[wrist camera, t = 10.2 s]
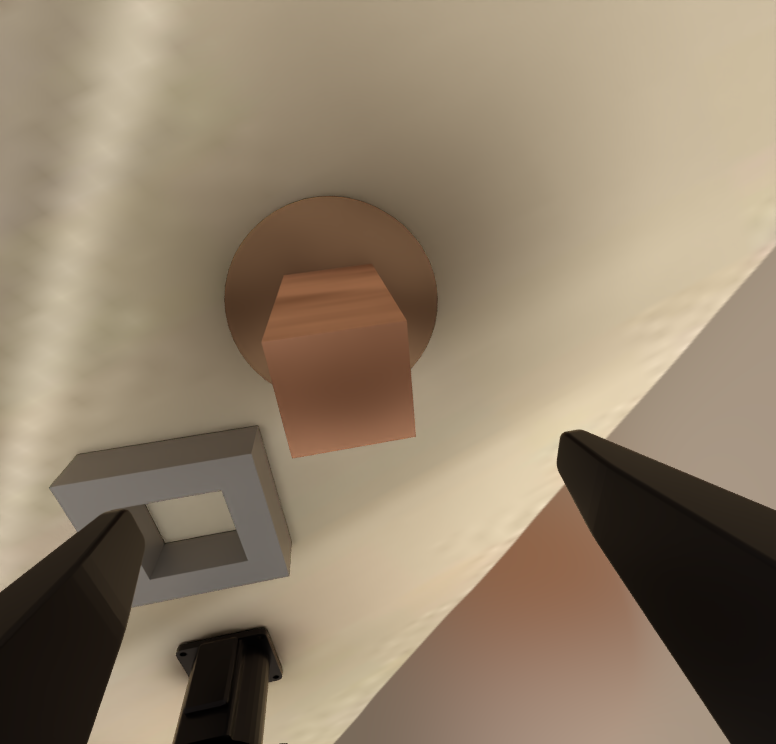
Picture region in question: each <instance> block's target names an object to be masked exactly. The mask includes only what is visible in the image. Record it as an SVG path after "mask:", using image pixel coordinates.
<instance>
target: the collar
mask: <svg viewBox="0 0 776 744" xmlns="http://www.w3.org/2000/svg"><path fill="white" fill-rule="evenodd" d="M49 489H50V490H51V492H52V493H53V495H54V496H55V498H56V499H57V501H58V503H59V504H60V506H61V507H62V509H63V510H64V512H65V513H66V515H67V517H68V518H69V520H70V521H71V523H72V524H73V526H74V527H75V529H76V531H77V532H78V531H80V530H81V529H82V528H84V527H85V526H86V525H87V524H89V523H90V522H91V521H93V520H94V519H95V518H96V517H98V516H99V515H100V514H102V513H104V512H108V511H113V510H119V509H127V510H129V511H130V512H131V514H132V515H133V517H134V519H135V521H136V523H137V525H138V526H139V528H140V530H141V532H142V534H143V536H144V539H145V551H144V555H143V559H142V564H141V568H140V572H139V577H138V581H137V585H136V589H135V594H134V598H133V602H132V607H137V606H142V605H147V604H152V603H157V602H162V601H167V600H172V599H177V598H182V597H187V596H192V595H197V594H202V593H207V592H212V591H217V590H222V589H227V588H232V587H237V586H242V585H247V584H252V583H257V582H262V581H267V580H272V579H277V578H282V577H287V576H289V575H290V561H291V547H292V541H291V538H290V535H289V531H288V528H287V524H286V521H285V517H284V514H283V510H282V507H281V503H280V500H279V497H278V493H277V490H276V486H275V483H274V479H273V476H272V472H271V469H270V466H269V462H268V459H267V455H266V452H265V448H264V445H263V441H262V438H261V434H260V431H259V428H258V426H253V427H247V428H240V429H234V430H228V431H222V432H215V433H209V434H203V435H197V436H190V437H184V438H178V439H172V440H166V441H159V442H153V443H147V444H141V445H134V446H128V447H122V448H116V449H109V450H103V451H97V452H91V453H84V454H78V455H76V456H75V458H74V459H73V460H72V461H71V462H70V463H69V465H68V466H67V467H66V468H65V469H64V470H63V472H62V473H61V474H60V475H59V476H58V477H57V479H56V480H55V481H54V482H53V483H52V484H51V486H50V487H49ZM216 491H222V493H223V496H224V498H225V501H226V504H227V506H228V509H229V512H230V514H231V517H232V520H233V522H234V525H235V528H236V531H230V532H225V533H220V534H214V535H209V536H203V537H198V538H193V539H187V540H182V541H176V542H171V543H166V544H165V543H164V541H163V539H162V537H161V535H160V533H159V531H158V529H157V527H156V525H155V523H154V521H153V520H152V518H151V516H150V514H149V512H148V510H147V508H146V506H145V504H148V503H153V502H159V501H165V500H170V499H176V498H182V497H188V496H193V495H199V494H205V493H210V492H216ZM132 607H131V608H132Z"/></svg>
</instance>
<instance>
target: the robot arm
mask: <svg viewBox="0 0 776 744" xmlns="http://www.w3.org/2000/svg"><path fill="white" fill-rule="evenodd" d="M557 468H558V471H559V473H560V475H561V477H562V479H563V481H564V483H565V485H566V487H567V489H568V491H569V492H570V494H571V496H572V498H573V500H574V502H575V504H576V506H577V508H578V509H579V511H580V513H581V515H582V517H583V519H584V521H585V523H586V525H587V526H588V528H589V530H590V532H591V533H592V535H593V537H594V538H595V540H596V541H597V543H598V545H599V546H600V548H601V549H602V551H603V552H604V554H605V555H606V557H607V558H608V560H609V561H610V563H611V564H612V566H613V567H614V569H615V570H616V572H617V573H618V575H619V576H620V578H621V579H622V581H623V582H624V584H625V585H626V587H627V588H628V590H629V591H630V593H631V594H632V596H633V597H634V599H635V600H636V602H637V603H638V605H639V606H640V608H641V609H642V611H643V612H644V614H645V616H646V617H647V619H648V620H649V622H650V623H651V625H652V626H653V628H654V629H655V631H656V632H657V634H658V635H659V637H660V638H661V640H662V641H663V643H664V644H665V646H666V647H667V649H668V650H669V652H670V653H671V655H672V656H673V658H674V659H675V661H676V662H677V664H678V665H679V667H680V668H681V670H682V671H683V673H684V674H685V676H686V677H687V679H688V680H689V682H690V683H691V685H692V686H693V688H694V689H695V691H696V692H697V694H698V695H699V697H700V698H701V700H702V701H703V703H704V704H705V706H706V707H707V709H708V710H709V712H710V713H711V715H712V716H713V718H714V719H715V721H716V723H717V724H718V726H719V727H720V729H721V730H722V732H723V733H724V735H725V736H726V738H727V739H728V741H729V742H730V744H776V510H774V509H771V508H769V507H766V506H764V505H762V504H759V503H757V502H754V501H752V500H749V499H747V498H745V497H742V496H740V495H738V494H735V493H733V492H730V491H728V490H725V489H723V488H721V487H718V486H716V485H713V484H711V483H708V482H706V481H704V480H702V479H699V478H697V477H694V476H692V475H689V474H687V473H685V472H682V471H680V470H678V469H675V468H673V467H670V466H668V465H665V464H663V463H661V462H658V461H656V460H654V459H651V458H649V457H646V456H644V455H642V454H639V453H637V452H634V451H632V450H630V449H627V448H625V447H622V446H620V445H617V444H615V443H613V442H610V441H608V440H606V439H603V438H601V437H598V436H596V435H594V434H591V433H589V432H587V431H584V430H573V431H567V432H564V433H562V435H561V436H560V441H559V448H558V455H557ZM144 551H145V539H144V536H143V534H142V532H141V530H140V528H139V526H138V525H137V523H136V521H135V519H134V517H133V515H132V514H131V512H130V511H129V510H127V509H119V510H113V511H108V512H104V513H102V514H100V515H99V516H98V517H96V518H95V519H94V520H93V521H91V522H90V523H89V524H87V525H86V526H85V527H84V528H82V529H81V530H80V531H78V532H77V533H76V534H75V535H73V536H72V537H71V538H69V539H68V540H67V541H66V542H64V543H63V544H62V545H60V546H59V547H58V548H57V549H55V550H54V551H53V552H51V553H50V554H49V555H48V556H46V557H45V558H44V559H43V560H41V561H40V562H39V563H37V564H36V565H35V566H34V567H32V568H31V569H30V570H28V571H27V572H26V573H25V574H23V575H22V576H21V577H19V578H18V579H17V580H16V581H14V582H13V583H12V584H10V585H9V586H8V587H7V588H5V589H4V590H3V591H1V592H0V744H87V742H88V739H89V737H90V734H91V731H92V728H93V725H94V722H95V719H96V716H97V713H98V710H99V707H100V704H101V701H102V698H103V696H104V693H105V690H106V687H107V684H108V681H109V678H110V675H111V672H112V669H113V666H114V663H115V660H116V657H117V655H118V652H119V649H120V646H121V643H122V640H123V636H124V633H125V630H126V627H127V623H128V619H129V615H130V611H131V607H132V602H133V598H134V594H135V589H136V585H137V581H138V577H139V572H140V568H141V564H142V559H143V555H144ZM176 656H177V658H178V660H179V661H180V663H181V665H182V666H183V668H184V670H185V671H186V673H187V675H188V676H189V681H188V685H187V689H186V692H185V696H184V700H183V704H182V708H181V712H180V716H179V720H178V724H177V728H176V732H175V736H174V739H173V743H172V744H263V733H264V723H265V713H266V702H267V692H268V682H272V681H277V680H280V679H281V678H282V673H283V670H282V667H281V665H280V662H279V660H278V657H277V655H276V652H275V649H274V647H273V644H272V642H271V639H270V637H269V634H268V632H267V630H266V629H263V628H259V629H254V630H250V631H245V632H240V633H236V634H231V635H226V636H221V637H217V638H212V639H207V640H202V641H198V642H193V643H188V644H184V645H180V646H179V647H178V649H177V652H176ZM280 744H287V743H280Z"/></svg>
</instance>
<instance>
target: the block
mask: <svg viewBox="0 0 776 744" xmlns="http://www.w3.org/2000/svg"><path fill="white" fill-rule="evenodd" d="M261 343H262V346H263V350H264V354H265V358H266V361H267V365H268V369H269V373H270V377H271V380H272V384H273V388H274V392H275V396H276V399H277V403H278V407H279V411H280V414H281V418H282V422H283V426H284V430H285V433H286V437H287V441H288V445H289V448H290V452H291V456H292V458H297V457H303V456H309V455H314V454H320V453H326V452H331V451H337V450H343V449H348V448H354V447H360V446H365V445H371V444H377V443H382V442H388V441H394V440H399V439H405V438H411V437H416V432H415V419H414V407H413V394H412V381H411V368H410V355H409V342H408V329H407V320H406V318H405V317H404V315H403V314H402V312H401V310H400V309H399V307H398V305H397V304H396V302H395V301H394V299H393V297H392V296H391V294H390V292H389V291H388V289H387V288H386V286H385V284H384V283H383V281H382V279H381V278H380V276H379V274H378V273H377V271H376V270H375V268H374V266H373V265H372V264H366V265H358V266H351V267H343V268H335V269H328V270H320V271H312V272H305V273H297V274H290V275H284V276H283V279H282V282H281V285H280V288H279V291H278V294H277V297H276V300H275V303H274V306H273V309H272V312H271V315H270V318H269V321H268V324H267V327H266V330H265V333H264V336H263V339H262V342H261Z"/></svg>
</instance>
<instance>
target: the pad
mask: <svg viewBox="0 0 776 744" xmlns="http://www.w3.org/2000/svg"><path fill="white" fill-rule="evenodd" d="M366 264H372V265H373V266H374V268H375V270H376V271H377V273H378V274H379V276H380V278H381V279H382V281H383V283H384V284H385V286H386V288H387V289H388V291H389V292H390V294H391V296H392V297H393V299H394V301H395V302H396V304H397V305H398V307H399V309H400V310H401V312H402V314H403V315H404V317H405V318H406V320H407V329H408V342H409V355H410V368H412V367H413V366H414V364H415V363H416V362H417V361H418V359H419V358H420V357H421V355H422V353H423V352H424V350H425V348H426V347H427V344H428V342H429V340H430V338H431V335H432V332H433V329H434V326H435V321H436V315H437V303H438V296H437V286H436V281H435V277H434V273H433V270H432V267H431V264H430V262H429V259H428V257H427V256H426V254H425V252H424V250H423V248H422V247H421V245H420V244H419V242H418V241H417V240H416V238H415V237H414V236H413V235H412V234H411V233H410V232H409V231H408V229H407V228H406V227H405V226H404V225H402V224H401V223H400V222H399V221H397V220H396V219H395V218H394V217H392V216H391V215H389V214H387V213H386V212H384V211H382V210H380V209H379V208H377V207H375V206H372V205H370V204H367V203H365V202H363V201H359V200H355V199H351V198H346V197H337V196H321V197H313V198H307V199H303V200H300V201H297V202H293V203H290V204H288V205H286V206H284V207H282V208H280V209H278V210H276V211H275V212H273V213H272V214H270V215H269V216H268V217H266V218H265V219H263V220H262V221H261V222H260V223H259V224H258V225H257V226H256V227H255V228H254V229H253V230H252V231H251V232H250V233H249V234H248V235H247V237H246V238H245V239H244V241H243V242H242V243H241V245H240V246H239V248H238V250H237V252H236V254H235V255H234V257H233V260H232V263H231V265H230V268H229V271H228V275H227V280H226V284H225V298H224V299H225V312H226V317H227V322H228V326H229V329H230V332H231V334H232V337H233V340H234V342H235V343H236V345H237V347H238V349H239V351H240V352H241V354H242V355H243V357H244V358H245V360H246V361H247V362H248V363H249V364H250V366H251V367H252V368H253V369H254V370H255V371H256V372H257V373H258V374H259V375H261V376H262V377H263V378H264V379H265V380H267V381H268V382H270V383H271V384H272V380H271V377H270V373H269V369H268V365H267V361H266V358H265V354H264V350H263V346H262V343H261V342H262V339H263V336H264V333H265V330H266V327H267V324H268V321H269V318H270V315H271V312H272V309H273V306H274V303H275V300H276V297H277V294H278V291H279V288H280V285H281V282H282V279H283V276H284V275H290V274H297V273H305V272H312V271H320V270H328V269H335V268H343V267H351V266H358V265H366Z"/></svg>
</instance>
